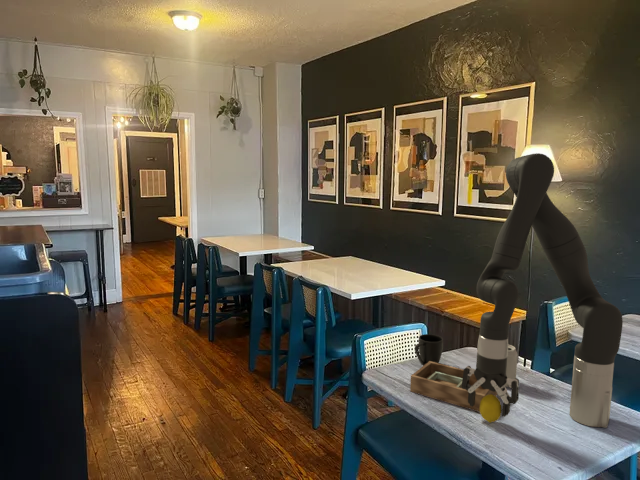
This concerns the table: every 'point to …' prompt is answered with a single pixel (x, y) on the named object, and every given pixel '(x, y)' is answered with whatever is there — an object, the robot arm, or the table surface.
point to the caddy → (446, 385)
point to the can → (511, 363)
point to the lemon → (490, 408)
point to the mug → (429, 348)
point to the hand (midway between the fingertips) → (487, 410)
